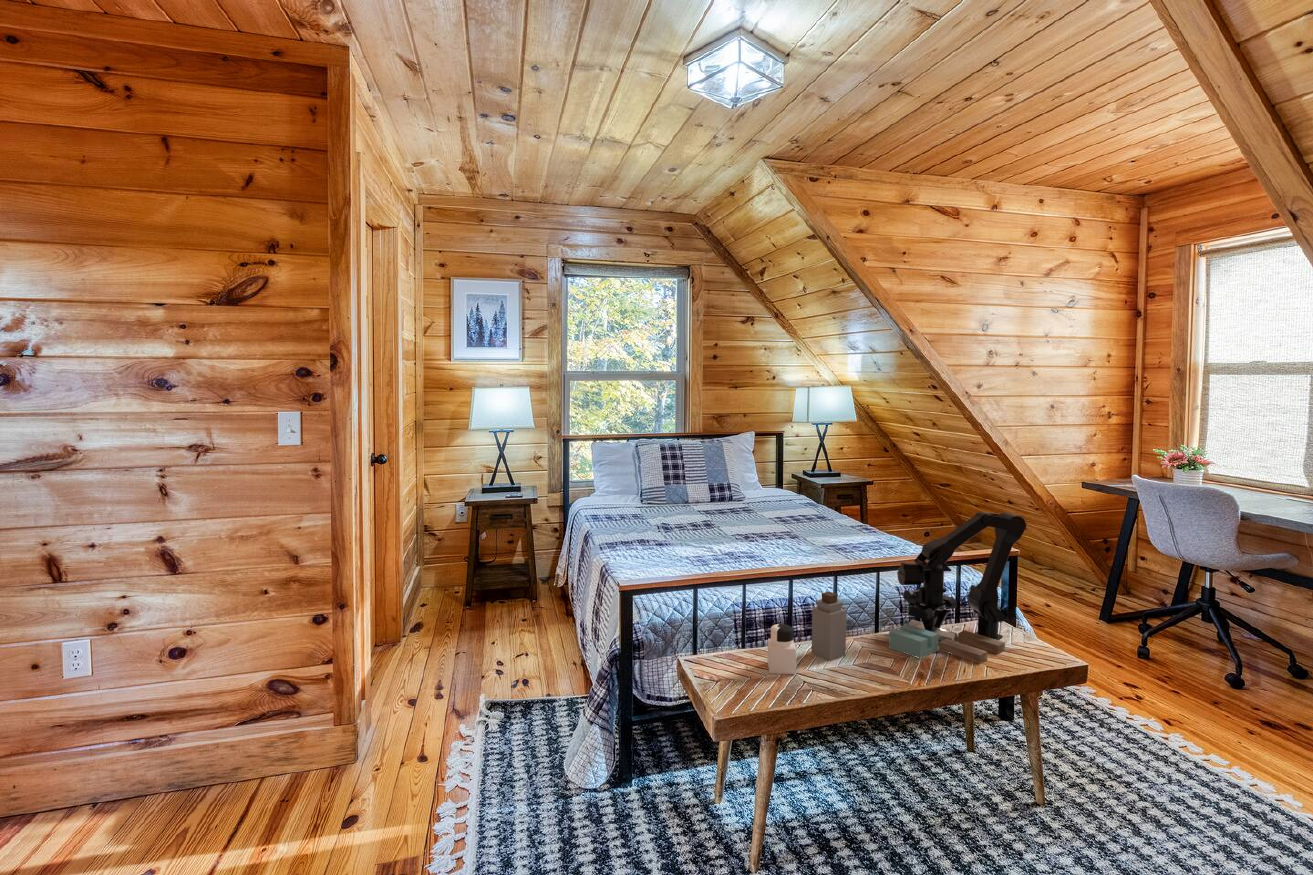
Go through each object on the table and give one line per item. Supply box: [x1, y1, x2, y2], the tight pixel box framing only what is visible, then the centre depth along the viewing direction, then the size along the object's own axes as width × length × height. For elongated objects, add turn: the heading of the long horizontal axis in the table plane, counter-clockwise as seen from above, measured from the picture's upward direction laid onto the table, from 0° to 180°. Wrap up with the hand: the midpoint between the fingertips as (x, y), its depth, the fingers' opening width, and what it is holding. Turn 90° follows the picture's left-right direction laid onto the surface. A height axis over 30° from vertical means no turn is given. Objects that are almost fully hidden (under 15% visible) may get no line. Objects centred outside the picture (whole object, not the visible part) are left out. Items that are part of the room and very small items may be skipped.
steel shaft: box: [908, 619, 958, 642], centre depth 196 cm, size 14×4×4 cm, turn 38°
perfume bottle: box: [811, 591, 847, 662], centre depth 183 cm, size 7×7×18 cm
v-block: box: [888, 623, 939, 659], centre depth 187 cm, size 10×10×5 cm
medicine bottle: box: [767, 623, 797, 675], centre depth 174 cm, size 7×7×12 cm
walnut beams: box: [938, 629, 1006, 665], centre depth 187 cm, size 15×12×2 cm
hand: (931, 633), depth 196 cm, fingers closed on steel shaft, 4 cm apart
